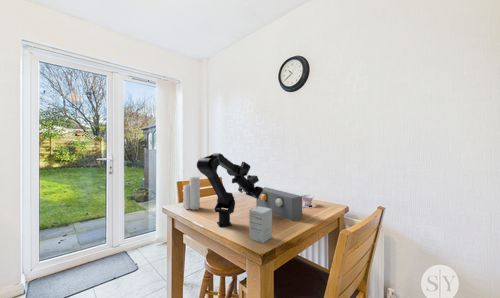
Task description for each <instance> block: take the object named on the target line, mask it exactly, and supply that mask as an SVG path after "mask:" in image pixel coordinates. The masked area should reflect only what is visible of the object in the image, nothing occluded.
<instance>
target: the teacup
mask: <svg viewBox="0 0 500 298" xmlns="http://www.w3.org/2000/svg"><path fill="white" fill-rule="evenodd" d="M301 196H302V208H307V209H310V208H311V209H315V208H317V207H318V204H317V203H313V202H312V201H313V199H314V196H313V195H310V194H303V195H301ZM311 204H314V205H316V206H315V207H309V206H311Z"/></svg>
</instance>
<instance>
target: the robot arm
mask: <svg viewBox="0 0 500 298" xmlns="http://www.w3.org/2000/svg"><path fill="white" fill-rule="evenodd" d="M219 166H220V167H222V168H223V169H225V170H226V172H227V173H226V174H228V176H231V177H233V178H232V179H231V184H237V186H238V190H237V191H238V192H239V193H241V194H243V192H244V193H245V195H246V196H250V197H252V198H254V199H255V200H256V199H258V198H259V195H260V194H261V193H262V191H263V188H264V187H262V186H259V185H257V186H255V184H256V183H258V182H260V180H259V177H258V175H255V174H254V175H251V174H249V171H250V170H251V165H250V164H249V163H247V162H246V161H242V162H241V163H240V165H239V164H236V163H233V162H232V161H230V160H229V159H228V158H227V157H225V156H224V155H223V154H222V153H220V152H219V153H218V152H216V153H212V154H209V155H207V156H203V157H200V158H198V160H197V162H196V168H197V169H198V171H199V172H200V173H201V174H202V175H204V176H205V177H206V178H207V179H208V182H209V184H210V185H211V187H212V189H213V191H214V192H215V194H216V196H217V199H216V202H217V203H216V205H215V207H214V212H215V213H218V221H216V224H217V226H218V227H219V228H222V227H230V226H232V225H233V223H232V222H231V214H233V213H234V211H235V207H236V201H235V197H234V195H233V193H232V192H228V191H227V190H226V187H224V184H223V182H222V180H221V178H220V176H219V174H218V172H217V171H218V167H219Z"/></svg>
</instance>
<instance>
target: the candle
mask: <svg viewBox="0 0 500 298" xmlns="http://www.w3.org/2000/svg"><path fill="white" fill-rule="evenodd" d="M188 179H189V181H188V182H189V183H188V184H184V185H183V187H182V189H183V191H182V192H183V198H182V200H183V201H182V203H183V205H182V207H184V208H183V209H184V210H185V209H189V210H190V209H192V211H194V210H195V209H197V210H199V208H201V198H200V197H201V190H200V189H201V188H200V185H201V184H200V182H201V179H200V176H190V177H189V178H188Z"/></svg>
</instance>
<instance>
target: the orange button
mask: <svg viewBox="0 0 500 298" xmlns="http://www.w3.org/2000/svg"><path fill="white" fill-rule="evenodd" d="M260 198H261V200H262V201H266V200H267V195H266V194H261V196H260Z"/></svg>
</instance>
